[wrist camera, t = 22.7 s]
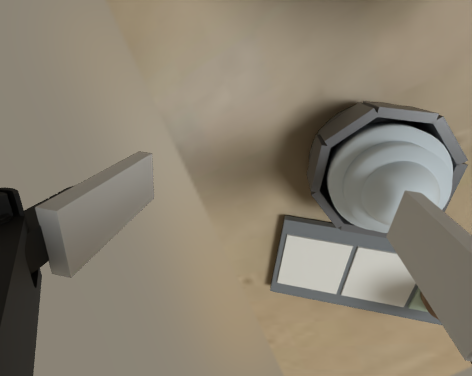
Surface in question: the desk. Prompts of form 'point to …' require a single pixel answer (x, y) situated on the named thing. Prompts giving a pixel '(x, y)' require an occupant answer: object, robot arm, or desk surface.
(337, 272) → the game board
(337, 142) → the dome base
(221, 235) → the desk surface
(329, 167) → the pop-up dome
